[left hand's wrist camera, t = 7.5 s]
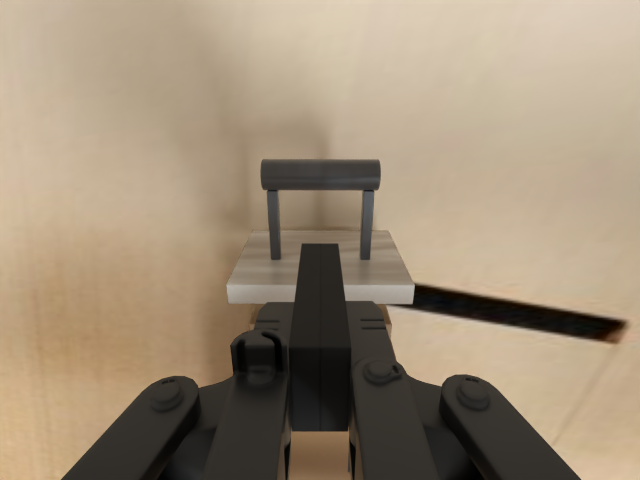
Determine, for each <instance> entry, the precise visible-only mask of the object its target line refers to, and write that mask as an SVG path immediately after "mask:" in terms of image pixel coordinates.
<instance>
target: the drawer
mask: <svg viewBox="0 0 640 480" xmlns="http://www.w3.org/2000/svg"><path fill="white" fill-rule="evenodd" d="M380 176H381V168H380V162H379V160H343V159H263V160H262V162H261V185H262V188H263V190H268V191H267V202H268V220H269V230H253V231H252V233H251V235H250V237H249V239H248V241H247V243H246V245H245V247H244V249H243V251H242V253H241V255H240V257H239V259H238V261H237V263H236V266H235V268H234V270H233V272H232V274H231V276H230V278H229V280H228V282H227V284H226V288H227V297H228V303H229V304H255V306H254V309H253V313H252V316H251V319H250V322H249V331H250V330H254V326H255V322H256V319H257V315H258V312H259V310H260V309H261V308H262V307H263V306H264V305H265V304H266V303H267V302H294V300H295V292H296V284H297V277H298V269H299V261H300V253H301V245H302V243H338V245H339V253H340V261H341V269H342V277H343V284H344V292H345V300H346V301H373V302H374V303H375V304H376V305H377V306H378V307H379V308H380V309H381V311H382V314H383V317H384V321H385V324H386V330H387V331H388V335H389V338H391V328H392V324H391V321H390V317H389V314H388V311H387V308H386V304H412V303H413V296H414V287H415V285H414V283H413V281H412V279H411V276H410V274H409V272H408V270H407V268H406V266H405V264H404V262H403V260H402V258H401V256H400V254H399V252H398V250H397V248H396V245H395V243H394V241H393V239H392V237H391V235H390V233H389V231H372V221H373V205H374V190H378V189H379V185H380ZM279 190H363V191H362V212H361V231H280V212H279Z"/></svg>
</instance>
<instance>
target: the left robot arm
mask: <svg viewBox="0 0 640 480" xmlns="http://www.w3.org/2000/svg"><path fill="white" fill-rule="evenodd" d="M230 347H231V356H232V365H233V376H232V377H231V378H229V379H227V380H225V381H223V382H220V383H217V384H213V385H209V386H205V387H201V388H198V385H197V384H196V383H195V381H194V380H193V379H190V378H188V377H185V376H172V377H168V378H163V379H161V380H159V381H157V382H155V383H153V384H151V385H150V386H148V387H147V388H146V389H145V390H144V391H142V392H141V393H140V395H139V396H138V397H137V398H136V399H135V400H134V401H133V402H132V403H131V404H130V405H129V407H128V408H127V409H126V410H125V411H124V412H123V413H122V414H121V415H120V416H119V417H118V418H117V420H116V421H115V422H114V423H113V424H112V425H111V426H110V427H109V428H108V429H107V430H106V431H105V433H104V434H103V435H102V436H101V437H100V438H99V439H98V440H97V441H96V442H95V443H94V444H93V446H92V447H91V448H90V449H89V450H88V451H87V452H86V453H85V454H84V455H83V456H82V457H81V459H80V460H79V461H78V462H77V463H76V464H75V465H74V466H73V467H72V468H71V469H70V470H69V472H68V473H67V474H66V475H65V476H64V477H63V478H62V479H61V480H289V476H290V463H291V429H292V432H348V427H349V453H348V472H350V475H351V480H581V479H580V478H579V477H578V476H577V475H576V473H575V472H574V471H573V470H572V469H571V468H570V467H569V466H568V465H567V464H566V463H565V462H564V461H563V459H562V458H561V457H560V456H559V455H558V454H557V453H556V452H555V451H554V450H553V449H552V448H551V447H550V445H549V444H548V443H547V442H546V441H545V440H544V439H543V438H542V437H541V436H540V435H539V434H538V433H537V431H536V430H535V429H534V428H533V427H532V426H531V425H530V424H529V423H528V422H527V421H526V420H525V419H524V417H523V416H522V415H521V414H520V413H519V412H518V411H517V410H516V409H515V408H514V407H513V406H512V405H511V403H510V402H509V401H508V400H507V399H506V398H505V397H504V396H503V395H502V394H501V393H500V392H499V391H498V390H497V389H496V388H495V387H494V386H492V385H491V384H490V383H489V382H487V381H485V380H482V379H480V378H478V377H475V376H470V375H454V376H451V377H449V378H447V379H446V380H445V382H444V383H443V384H442V387H441V386H437V385H433V384H429V383H425V382H422V381H419V380H416V379H414V378H412V377H410V376H409V375H407V373H406V371H405V370H404V368H403V366H402V365H401V364H399V363H398V362H397V361H396V359H395V355H394V352H393V349H392V345H391V342H390V338H389V335H388V331H387V330H386V324H385V321H384V317H383V314H382V311H381V309H380V308H379V307H378V306H377V305H376V304H375V303H374V302H373V301H346V300H345V292H344V284H343V277H342V269H341V261H340V253H339V245H338V243H302V245H301V253H300V261H299V269H298V277H297V284H296V292H295V300H294V302H267V303H266V304H265V305H264V306H263V307H262V308H261V309H260V310H259V312H258V315H257V319H256V322H255V326H254V330H250V331H247V332H245V333H242V334H241V335H239V336H238V337H237V338H235V339H234V341H233V342H232V344H231V345H230Z"/></svg>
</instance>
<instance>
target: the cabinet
mask: <svg viewBox="0 0 640 480" xmlns="http://www.w3.org/2000/svg"><path fill="white" fill-rule="evenodd" d="M390 342H391V339H390ZM391 345H392V343H391ZM392 349H393V346H392ZM393 352H394V350H393ZM394 355H395V353H394ZM395 359H396V357H395ZM396 361H397V360H396ZM348 453H349V427H348V432H292V429H291V463H290V476H289V480H351V475H350V472H348Z"/></svg>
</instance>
